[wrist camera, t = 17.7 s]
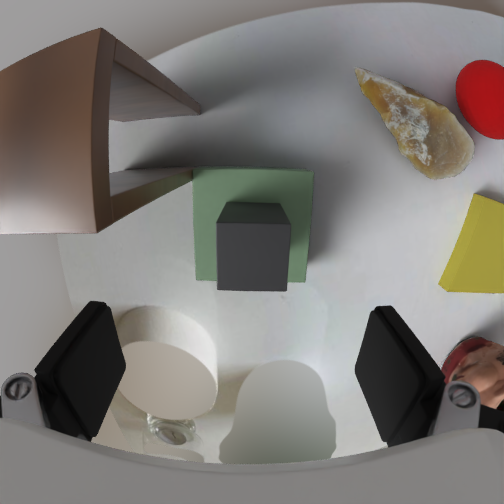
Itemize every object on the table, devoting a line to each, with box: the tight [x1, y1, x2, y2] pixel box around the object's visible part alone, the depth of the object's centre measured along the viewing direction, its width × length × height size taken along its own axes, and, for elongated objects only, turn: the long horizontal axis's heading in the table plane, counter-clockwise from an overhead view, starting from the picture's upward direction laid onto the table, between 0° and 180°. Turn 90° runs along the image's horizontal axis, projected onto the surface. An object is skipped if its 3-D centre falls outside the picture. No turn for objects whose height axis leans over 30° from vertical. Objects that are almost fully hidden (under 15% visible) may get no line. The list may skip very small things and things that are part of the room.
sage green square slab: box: [192, 167, 314, 282], centre depth 26 cm, size 10×10×4 cm
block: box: [216, 202, 291, 291], centre depth 21 cm, size 4×4×7 cm
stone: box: [355, 68, 475, 180], centre depth 21 cm, size 7×6×15 cm
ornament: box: [456, 60, 504, 139], centre depth 17 cm, size 9×9×10 cm
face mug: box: [441, 337, 504, 412], centre depth 28 cm, size 20×12×14 cm, turn 92°
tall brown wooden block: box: [0, 28, 200, 235], centre depth 16 cm, size 8×7×19 cm
